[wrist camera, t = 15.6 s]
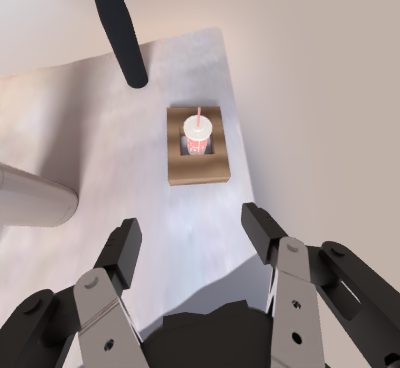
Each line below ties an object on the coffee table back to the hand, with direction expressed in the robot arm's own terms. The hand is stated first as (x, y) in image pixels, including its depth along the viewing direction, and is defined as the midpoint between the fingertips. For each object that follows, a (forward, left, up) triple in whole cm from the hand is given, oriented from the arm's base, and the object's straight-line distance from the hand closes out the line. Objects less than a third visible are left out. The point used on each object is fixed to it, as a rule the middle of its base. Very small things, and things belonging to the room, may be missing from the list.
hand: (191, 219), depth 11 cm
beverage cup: (-10, +18, -24) cm, 31 cm away
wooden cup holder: (-10, +18, -23) cm, 31 cm away
